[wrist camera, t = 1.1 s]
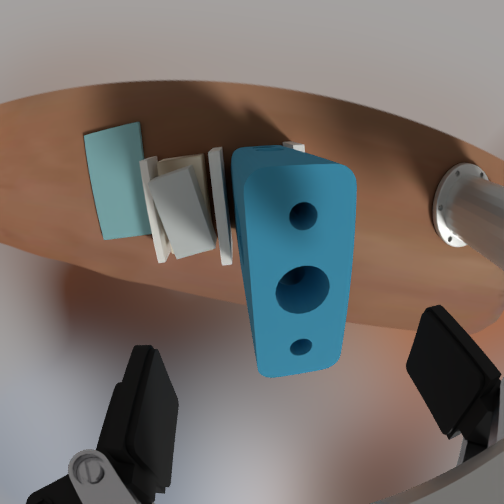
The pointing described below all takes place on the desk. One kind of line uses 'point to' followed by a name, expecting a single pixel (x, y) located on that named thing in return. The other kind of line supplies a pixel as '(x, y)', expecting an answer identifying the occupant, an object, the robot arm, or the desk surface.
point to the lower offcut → (199, 168)
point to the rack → (219, 197)
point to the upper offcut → (183, 212)
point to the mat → (118, 180)
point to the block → (294, 254)
